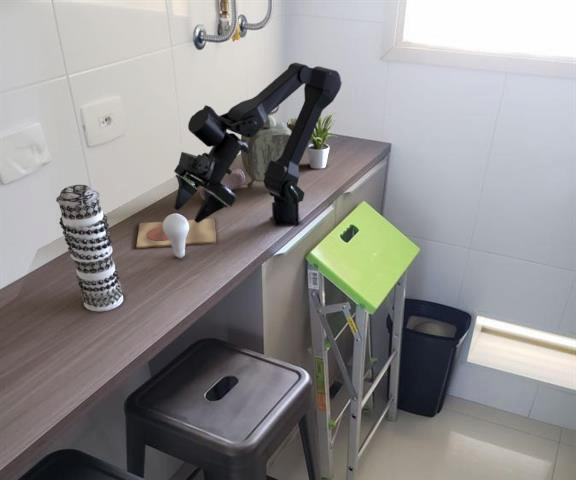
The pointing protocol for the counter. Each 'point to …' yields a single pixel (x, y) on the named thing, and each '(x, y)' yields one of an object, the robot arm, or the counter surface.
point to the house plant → (319, 144)
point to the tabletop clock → (264, 148)
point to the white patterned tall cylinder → (90, 247)
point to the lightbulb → (176, 232)
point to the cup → (291, 123)
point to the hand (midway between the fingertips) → (185, 215)
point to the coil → (229, 181)
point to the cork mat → (156, 237)
